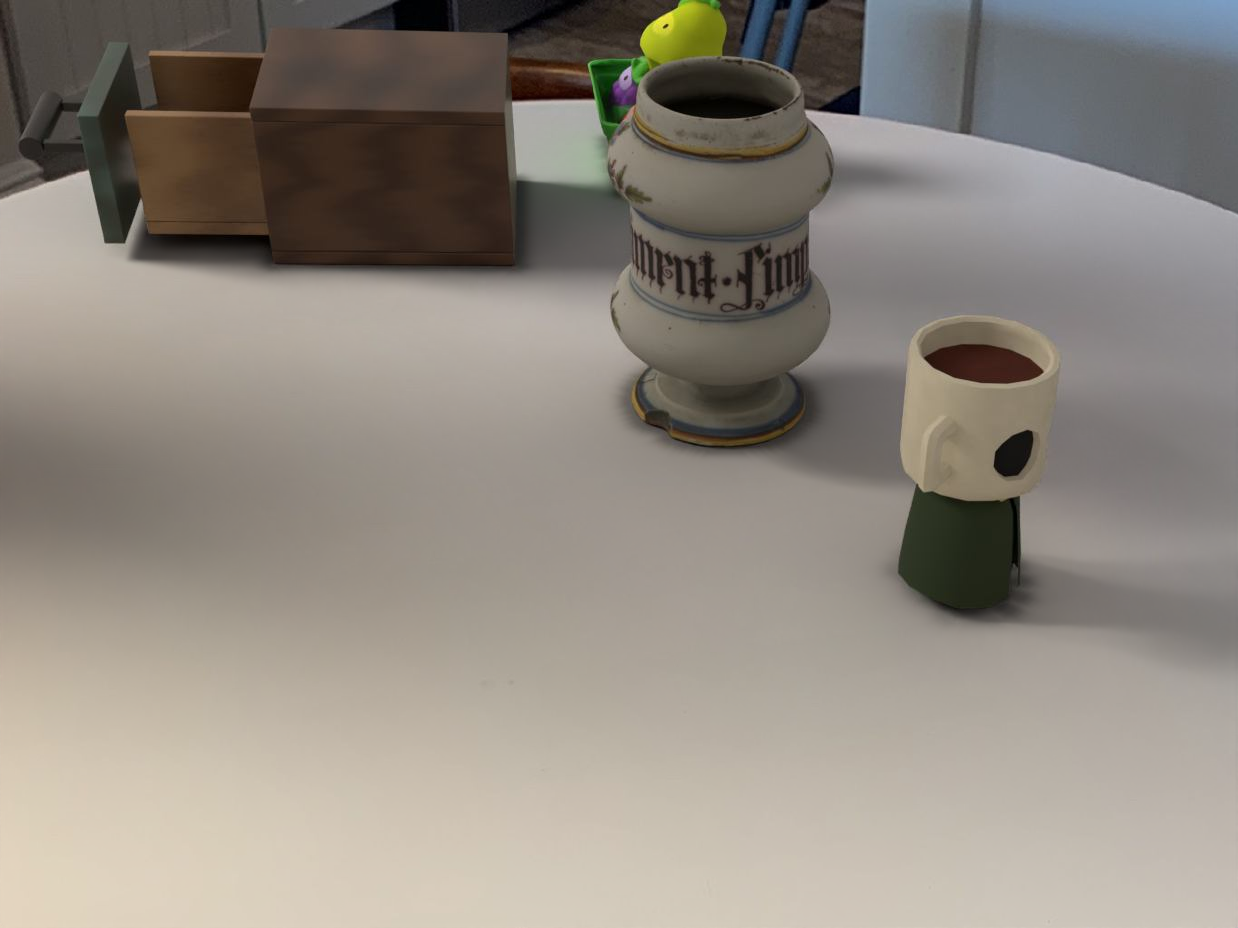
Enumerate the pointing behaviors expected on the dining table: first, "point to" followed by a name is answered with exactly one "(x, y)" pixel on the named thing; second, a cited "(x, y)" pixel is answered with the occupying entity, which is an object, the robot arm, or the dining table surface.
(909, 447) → the character mug
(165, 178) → the drawer
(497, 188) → the cabinet
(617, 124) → the fruit basket
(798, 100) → the apothecary jar
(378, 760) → the dining table surface
